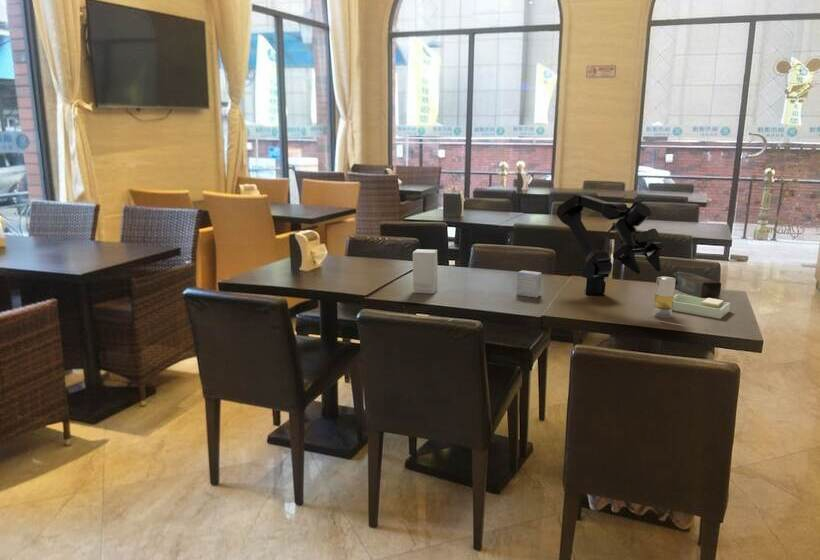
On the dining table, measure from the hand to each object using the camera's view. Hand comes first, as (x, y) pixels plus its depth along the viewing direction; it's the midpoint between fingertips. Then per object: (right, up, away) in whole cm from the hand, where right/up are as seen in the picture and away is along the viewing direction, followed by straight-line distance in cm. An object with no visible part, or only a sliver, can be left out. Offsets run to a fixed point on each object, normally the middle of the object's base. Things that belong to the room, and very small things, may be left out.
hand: (649, 272), depth 214 cm
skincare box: (-75, -7, +24) cm, 79 cm away
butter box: (+20, -13, 0) cm, 24 cm away
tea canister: (+2, -15, -4) cm, 15 cm away
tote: (+17, -13, +2) cm, 22 cm away
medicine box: (-37, -8, +21) cm, 43 cm away
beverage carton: (+27, -8, +28) cm, 40 cm away
